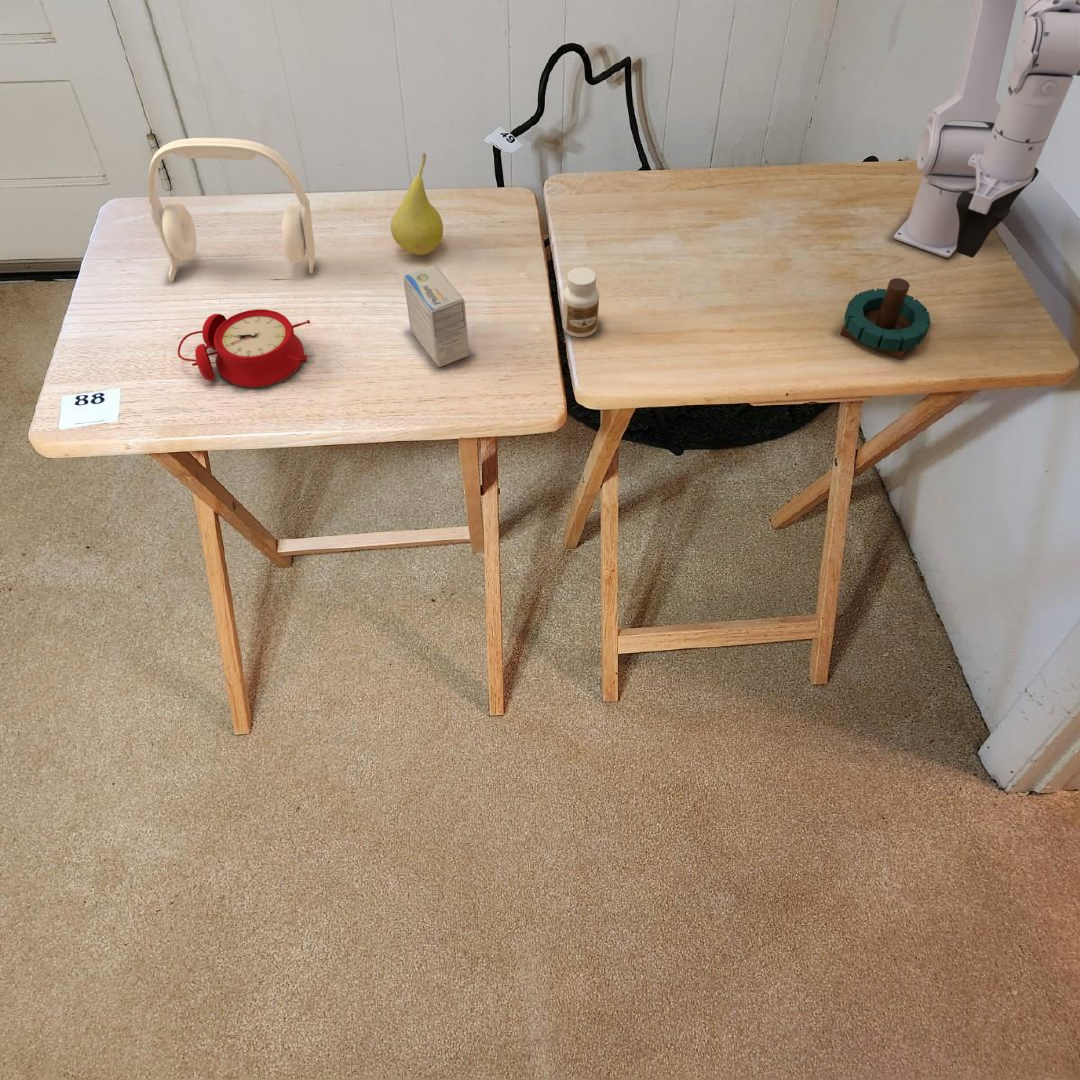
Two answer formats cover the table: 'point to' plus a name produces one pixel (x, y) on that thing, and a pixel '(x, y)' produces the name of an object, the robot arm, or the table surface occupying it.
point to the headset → (178, 221)
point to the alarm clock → (249, 348)
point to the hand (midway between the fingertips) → (977, 238)
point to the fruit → (417, 220)
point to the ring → (886, 337)
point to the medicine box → (437, 315)
